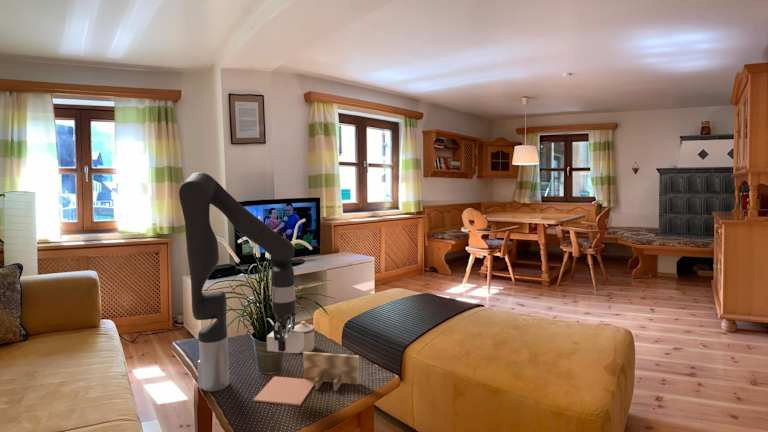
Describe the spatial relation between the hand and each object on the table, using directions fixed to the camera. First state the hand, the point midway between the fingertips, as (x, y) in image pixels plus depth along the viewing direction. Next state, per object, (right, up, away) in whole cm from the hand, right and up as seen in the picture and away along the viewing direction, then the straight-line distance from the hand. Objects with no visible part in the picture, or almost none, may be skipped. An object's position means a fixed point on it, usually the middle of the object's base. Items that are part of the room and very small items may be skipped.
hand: (285, 347), depth 147 cm
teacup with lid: (-2, -12, +36) cm, 37 cm away
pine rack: (+14, -15, +4) cm, 21 cm away
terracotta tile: (0, -15, +1) cm, 15 cm away
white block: (0, -1, 0) cm, 1 cm away
